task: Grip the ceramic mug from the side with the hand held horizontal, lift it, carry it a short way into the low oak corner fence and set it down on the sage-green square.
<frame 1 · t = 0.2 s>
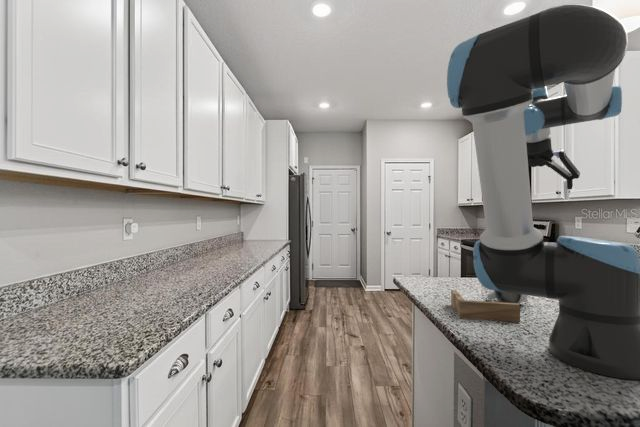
hand: (541, 198, 102), 34 cm above the worktop, tool tilted 30°, fingers open, 13 cm apart
ceramic mug: (506, 303, 95), on the worktop, touching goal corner
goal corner: (486, 308, 90), on the worktop
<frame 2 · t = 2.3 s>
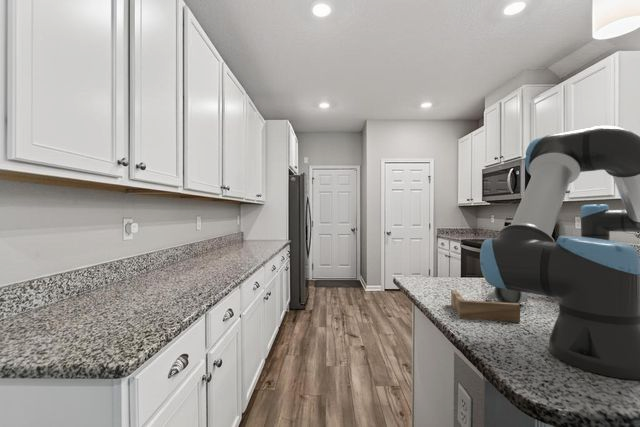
hand: (528, 252, 98), 16 cm above the worktop, tool horizontal, fingers open, 13 cm apart
nothing on the worktop moved.
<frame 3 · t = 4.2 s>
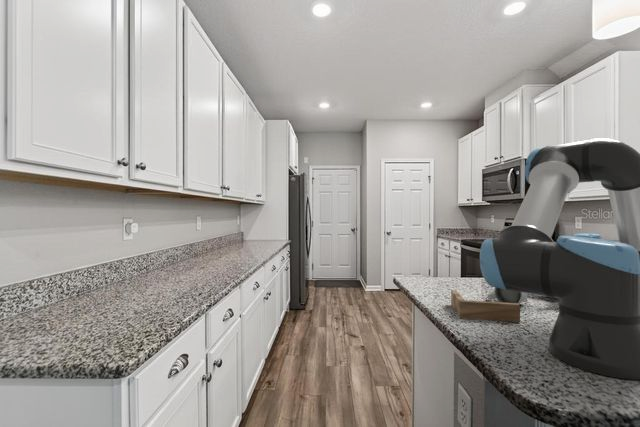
hand: (519, 284, 97), 6 cm above the worktop, tool horizontal, fingers open, 13 cm apart
nothing on the worktop moved.
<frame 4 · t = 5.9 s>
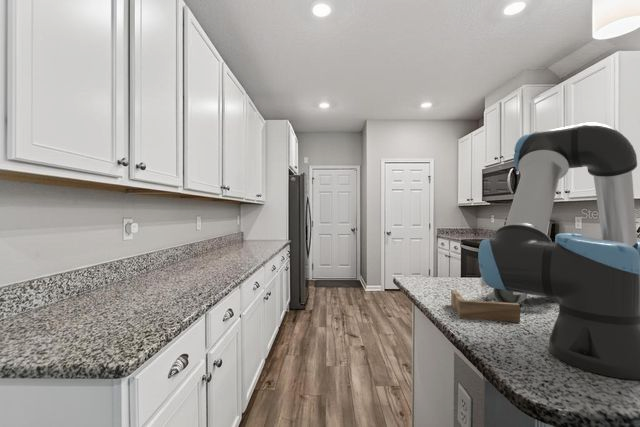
hand: (496, 285, 94), 6 cm above the worktop, tool horizontal, fingers open, 11 cm apart
ceramic mug: (505, 303, 95), on the worktop, touching gripper
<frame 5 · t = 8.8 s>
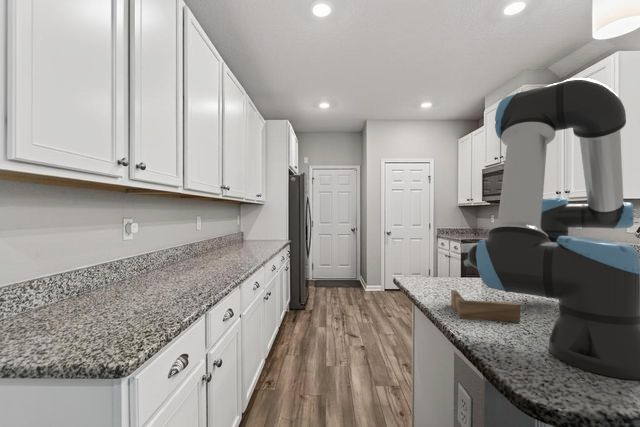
hand: (473, 249, 89), 18 cm above the worktop, tool horizontal, fingers closed on ceramic mug, 9 cm apart
ceramic mug: (481, 269, 92), point 12 cm above the worktop, touching gripper
when the fingers open (8 cm above the worktop, at t = 11.2 s): ceramic mug drops 2 cm, resting on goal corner.
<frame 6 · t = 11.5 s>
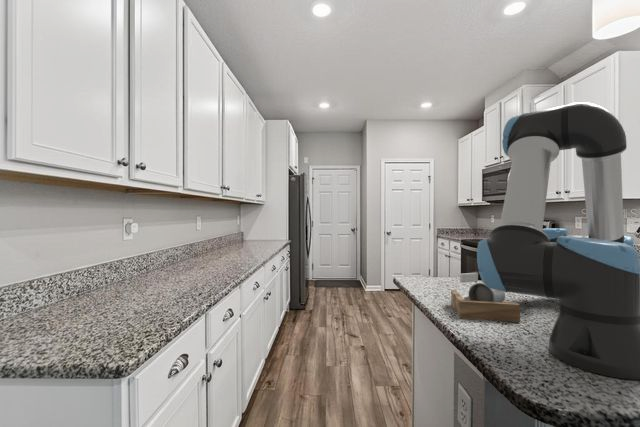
hand: (476, 282, 90), 8 cm above the worktop, tool horizontal, fingers open, 13 cm apart
ceramic mug: (482, 306, 92), resting on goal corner
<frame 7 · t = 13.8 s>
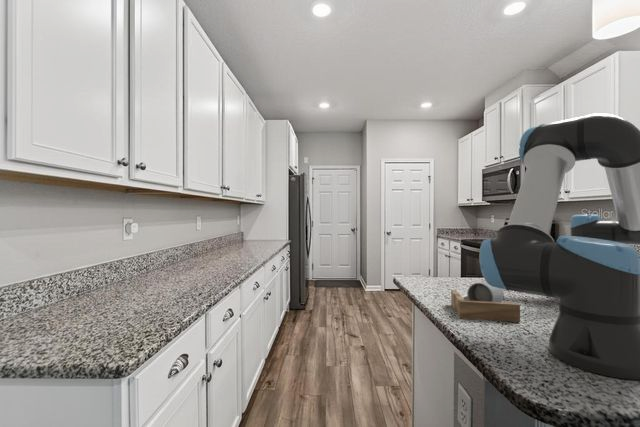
hand: (515, 263, 94), 13 cm above the worktop, tool horizontal, fingers open, 13 cm apart
nothing on the worktop moved.
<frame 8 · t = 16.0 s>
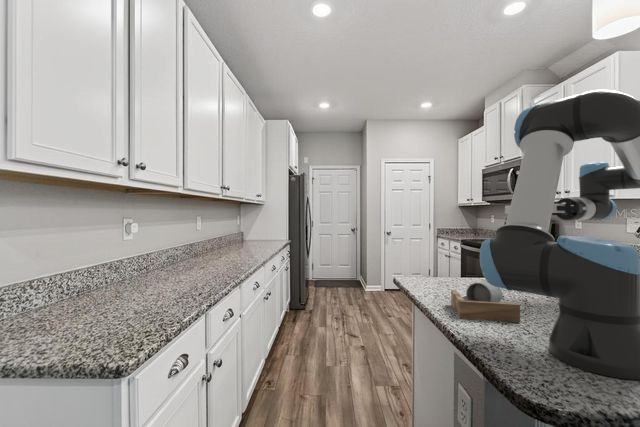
hand: (525, 208, 94), 30 cm above the worktop, tool horizontal, fingers open, 13 cm apart
nothing on the worktop moved.
at the end: ceramic mug inside the target area (2.0 cm from its centre), resting on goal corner; ceramic mug tilted 0°; the gripper is holding nothing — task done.
